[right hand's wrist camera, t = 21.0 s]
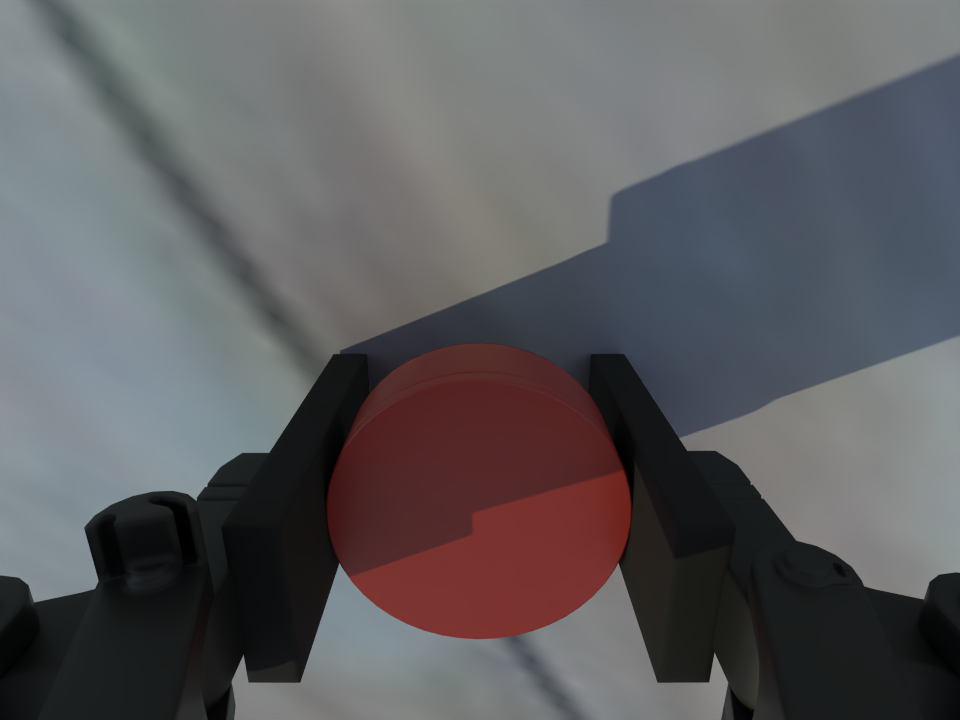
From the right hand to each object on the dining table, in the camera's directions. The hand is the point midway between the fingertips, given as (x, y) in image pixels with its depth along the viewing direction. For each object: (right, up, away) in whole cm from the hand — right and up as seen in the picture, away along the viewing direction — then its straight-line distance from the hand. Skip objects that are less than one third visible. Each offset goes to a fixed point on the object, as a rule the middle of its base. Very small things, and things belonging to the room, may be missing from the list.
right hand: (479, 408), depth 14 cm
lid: (0, -1, -4) cm, 4 cm away
